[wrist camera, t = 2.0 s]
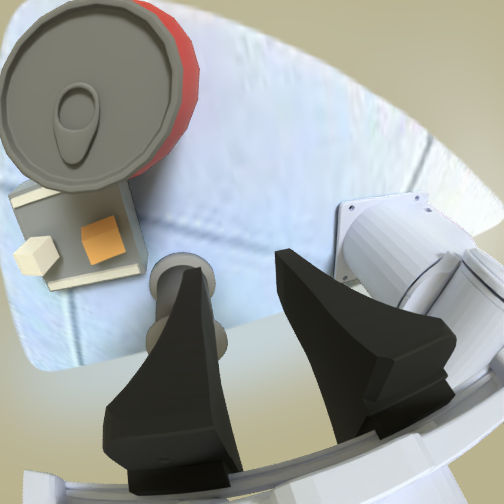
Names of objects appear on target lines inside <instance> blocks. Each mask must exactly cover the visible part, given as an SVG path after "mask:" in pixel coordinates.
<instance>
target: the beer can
mask: <svg viewBox="0 0 504 504" xmlns="http://www.w3.org/2000/svg"><path fill="white" fill-rule="evenodd" d="M199 72H200V69H199V65H198V62H197V58H196V55H195V51H194V48H193V45H192V41H191V40H190V38H189V37H188V36H187V34H186V33H185V32H184V30H183V29H182V28H181V26H180V25H179V24H178V22H177V21H176V20H175V19H174V18H173V17H172V16H170V15H169V14H167V13H165V12H164V11H162V10H160V9H159V8H157V7H155V6H154V5H152V4H150V3H147V2H144V1H138V0H73V1H69V2H67V3H65V4H63V5H61V6H59V7H58V8H56V9H54V10H52V11H50V12H49V13H47V14H45V15H44V16H42V17H40V18H39V19H38V20H37V21H36V22H35V23H34V24H33V25H32V26H31V27H30V28H29V29H28V30H27V31H26V32H25V33H24V34H23V35H22V36H21V37H20V39H19V40H18V41H17V42H16V44H15V46H14V47H13V49H12V51H11V53H10V55H9V56H8V58H7V60H6V62H5V64H4V66H3V68H2V71H1V75H0V138H1V141H2V144H3V146H4V149H5V152H6V154H7V155H8V156H9V158H10V159H11V160H12V162H13V163H14V164H15V165H16V167H17V168H18V169H19V170H20V171H21V173H22V174H23V175H25V176H26V177H28V178H29V179H31V180H32V181H34V182H36V183H37V184H39V185H40V186H42V187H44V188H45V189H50V190H54V191H58V192H62V193H67V194H82V193H93V192H100V191H102V190H105V189H107V188H110V187H112V186H114V185H117V184H119V183H122V182H124V181H127V180H128V179H131V178H133V177H136V176H138V175H140V174H142V173H144V172H145V171H147V170H148V169H149V168H151V167H152V166H153V165H154V164H156V163H157V162H158V161H160V160H161V159H162V158H164V157H165V156H166V155H168V154H169V152H170V151H171V150H172V148H173V147H174V146H175V144H176V143H177V141H178V140H179V139H180V137H181V136H182V135H183V134H184V132H185V131H186V130H187V128H188V125H189V122H190V119H191V117H192V114H193V111H194V109H195V106H196V104H197V101H198V89H199Z"/></svg>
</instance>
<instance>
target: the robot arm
mask: <svg viewBox="0 0 504 504" xmlns="http://www.w3.org/2000/svg"><path fill="white" fill-rule="evenodd" d="M416 196H417V197H416ZM415 197H416V198H415ZM427 201H428V193H427V192H426V191H417V192H409V193H401V194H394V195H387V196H380V197H373V198H366V199H359V200H352V201H346V202H342V203H341V204H340V206H339V213H338V231H337V246H336V260H335V272H334V279H333V278H332V277H330V276H329V275H327V274H325V273H324V272H322V271H321V270H319V269H318V268H316V267H315V266H314V265H312V264H311V263H309V262H308V261H307V260H305V259H304V258H302V257H301V256H300V255H298V254H297V253H296V252H294V251H293V250H291V249H290V248H289V249H284V250H279V251H275V266H276V285H277V293H278V296H279V299H280V302H281V305H282V307H283V310H284V312H285V314H286V316H287V318H288V320H289V322H290V324H291V326H292V328H293V330H294V332H295V334H296V336H297V338H298V340H299V342H300V343H301V345H302V347H303V349H304V351H305V353H306V355H307V357H308V360H309V362H310V364H311V367H312V369H313V372H314V375H315V377H316V380H317V383H318V385H319V388H320V391H321V394H322V397H323V400H324V402H325V405H326V408H327V412H328V415H329V418H330V421H331V424H332V427H333V431H334V434H335V437H336V440H337V444H338V445H336V446H333V447H330V448H327V449H324V450H321V451H318V452H315V453H312V454H309V455H306V456H302V457H299V458H296V459H292V460H289V461H285V462H282V463H278V464H274V465H270V466H266V467H262V468H258V469H253V470H248V471H243V468H242V464H241V461H240V457H239V454H238V450H237V446H236V443H235V439H234V435H233V432H232V427H231V423H230V419H229V415H228V411H227V407H226V403H225V398H224V395H223V390H222V386H221V379H220V373H219V364H218V354H217V345H216V335H215V327H214V322H213V317H212V312H211V307H210V303H209V299H208V295H207V291H206V286H205V282H204V278H203V274H202V269H201V267H197V268H192V269H187V270H185V271H184V272H183V276H182V281H181V285H180V288H179V291H178V294H177V297H176V300H175V303H174V305H173V308H172V311H171V313H170V315H169V318H168V320H167V322H166V324H165V327H164V329H163V331H162V333H161V335H160V337H159V338H158V340H157V342H156V344H155V346H154V347H153V349H152V350H151V352H150V354H149V355H148V357H147V359H146V360H145V362H144V363H143V364H142V366H141V367H140V369H139V370H138V371H137V373H136V374H135V375H134V376H133V378H132V379H131V380H130V382H129V383H128V384H127V385H126V387H125V388H124V389H123V390H122V391H121V392H120V393H119V394H118V395H117V396H116V397H115V398H114V400H113V401H112V402H111V403H110V404H109V405H108V406H107V407H106V411H105V417H104V423H103V451H104V453H105V454H106V455H107V456H108V457H109V458H111V459H112V460H114V461H115V462H116V463H118V464H119V465H121V466H122V467H124V468H125V469H127V474H128V484H95V483H79V482H67V481H64V480H63V479H61V478H60V477H58V476H56V475H53V474H50V473H45V472H38V471H32V470H24V478H23V504H468V503H467V501H466V499H465V497H464V495H463V493H462V492H461V489H460V488H459V486H458V484H457V482H456V480H455V478H454V476H453V475H452V472H451V471H450V469H449V467H448V464H449V463H451V462H452V461H454V460H455V459H457V458H458V457H460V456H461V455H462V454H464V453H465V452H466V451H468V450H469V449H470V448H472V447H473V446H474V445H475V444H477V443H478V442H479V441H481V440H482V439H483V438H485V437H486V436H487V435H488V434H489V433H491V432H492V431H493V430H494V429H495V428H496V427H498V426H499V425H500V424H501V423H502V422H503V423H504V266H503V265H502V264H500V263H499V262H498V261H496V260H495V259H494V258H493V257H491V256H490V255H489V254H487V253H485V252H484V251H483V250H481V249H479V248H477V246H476V244H475V242H474V240H473V238H472V237H471V235H470V234H469V233H468V232H467V231H466V230H465V229H463V228H462V227H461V226H459V225H458V224H457V223H455V222H454V221H453V220H451V219H450V218H449V217H447V216H446V215H445V214H443V213H442V212H440V211H439V210H438V209H436V208H435V207H433V206H432V205H430V204H429V203H427ZM351 205H352V208H351V209H349V207H350V206H351ZM344 276H345V277H344ZM343 277H344V278H343ZM354 279H358V280H359V281H360V282H361V284H362V285H363V286H364V288H365V289H366V290H367V292H368V293H369V294H370V296H371V297H372V298H373V299H372V298H370V297H367V296H365V295H363V294H361V293H359V292H357V291H355V290H353V289H351V288H349V287H347V286H345V285H344V284H342V283H343V282H347V281H350V280H354ZM273 488H274V489H273ZM268 489H273V490H270V491H267V492H263V493H260V494H256V495H252V496H249V497H245V498H241V499H237V500H233V501H229V500H227V499H226V498H229V497H235V496H241V495H246V494H251V493H255V492H260V491H264V490H268Z"/></svg>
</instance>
